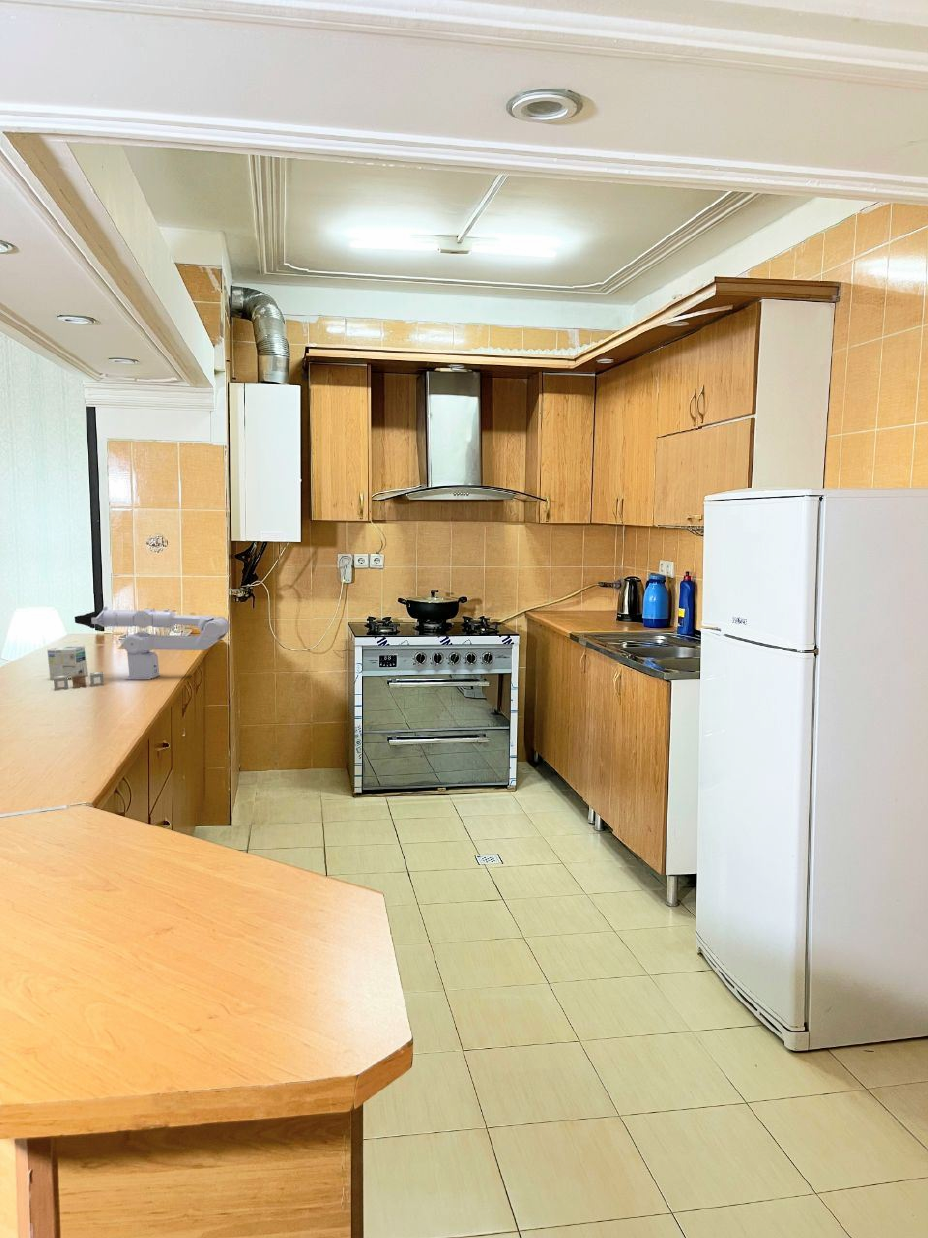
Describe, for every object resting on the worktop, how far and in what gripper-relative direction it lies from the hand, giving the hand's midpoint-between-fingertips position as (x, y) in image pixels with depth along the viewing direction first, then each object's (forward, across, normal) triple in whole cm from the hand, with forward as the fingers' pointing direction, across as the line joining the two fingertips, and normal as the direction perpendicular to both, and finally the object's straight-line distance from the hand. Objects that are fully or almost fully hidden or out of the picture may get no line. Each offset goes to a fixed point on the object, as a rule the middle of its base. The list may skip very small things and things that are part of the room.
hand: (80, 618), depth 306 cm
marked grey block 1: (0, +16, +22) cm, 27 cm away
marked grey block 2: (-10, +10, +21) cm, 26 cm away
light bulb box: (+7, -3, +22) cm, 23 cm away
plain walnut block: (-5, +13, +21) cm, 25 cm away
